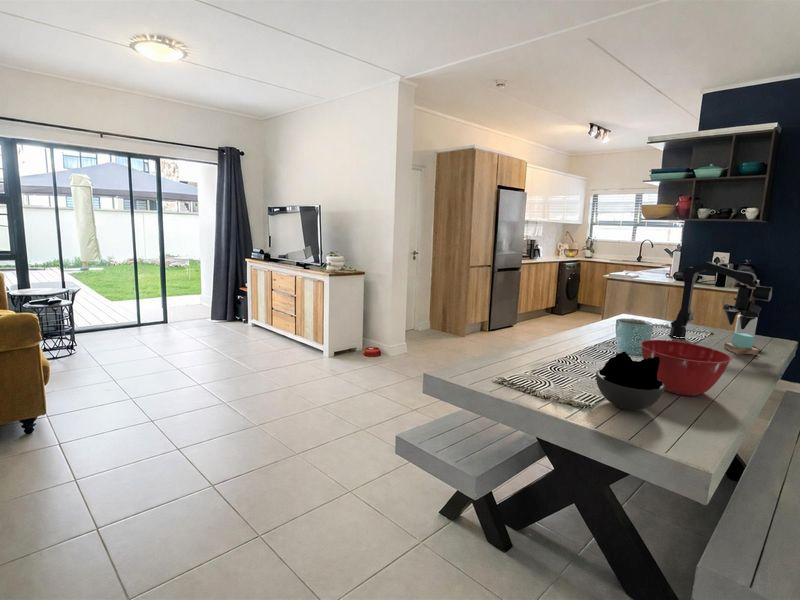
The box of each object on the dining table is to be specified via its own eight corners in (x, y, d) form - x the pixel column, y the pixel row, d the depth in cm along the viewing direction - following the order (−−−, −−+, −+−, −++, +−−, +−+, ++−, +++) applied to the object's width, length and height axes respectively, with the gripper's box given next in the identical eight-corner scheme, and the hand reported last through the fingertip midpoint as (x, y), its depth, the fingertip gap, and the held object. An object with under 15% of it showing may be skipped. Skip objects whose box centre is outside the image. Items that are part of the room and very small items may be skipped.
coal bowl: (582, 404, 143) (589, 350, 140) (605, 390, 157) (613, 340, 154) (648, 427, 129) (659, 367, 126) (667, 409, 143) (677, 355, 140)
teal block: (739, 347, 218) (741, 335, 216) (731, 344, 223) (733, 332, 222) (751, 348, 217) (754, 336, 216) (744, 345, 223) (746, 333, 222)
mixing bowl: (617, 378, 171) (623, 340, 168) (669, 372, 181) (675, 337, 178) (686, 408, 145) (694, 364, 142) (741, 400, 155) (750, 359, 152)
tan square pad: (736, 354, 216) (737, 348, 216) (723, 348, 226) (725, 342, 225) (757, 355, 215) (759, 349, 215) (744, 349, 225) (745, 344, 225)
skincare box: (751, 344, 238) (756, 316, 235) (752, 347, 232) (758, 318, 229) (732, 341, 242) (737, 314, 239) (733, 343, 237) (739, 316, 234)
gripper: (774, 302, 209) (766, 333, 213) (748, 295, 228) (741, 324, 231) (749, 300, 211) (741, 331, 214) (725, 293, 229) (719, 322, 232)
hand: (736, 326), depth 222 cm, fingers open, 9 cm apart
